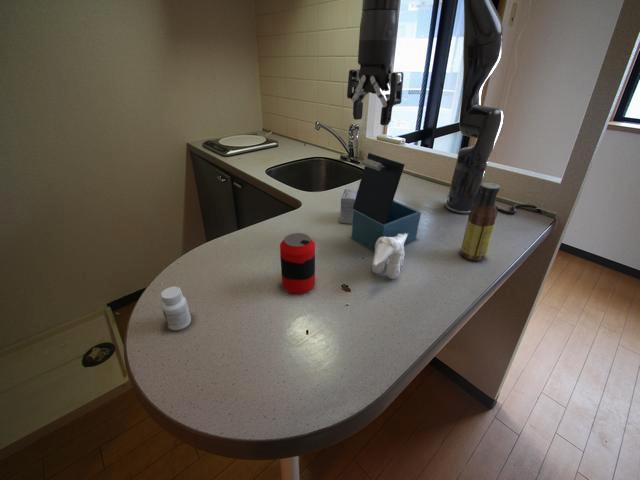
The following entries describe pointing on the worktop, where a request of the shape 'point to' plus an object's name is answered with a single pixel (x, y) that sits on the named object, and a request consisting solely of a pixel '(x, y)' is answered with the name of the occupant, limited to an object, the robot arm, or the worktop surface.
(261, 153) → the worktop surface
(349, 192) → the medicine box
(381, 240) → the dinosaur statue
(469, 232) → the sauce bottle
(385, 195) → the black box lid
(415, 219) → the blue box
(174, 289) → the pill bottle
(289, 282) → the soda can
